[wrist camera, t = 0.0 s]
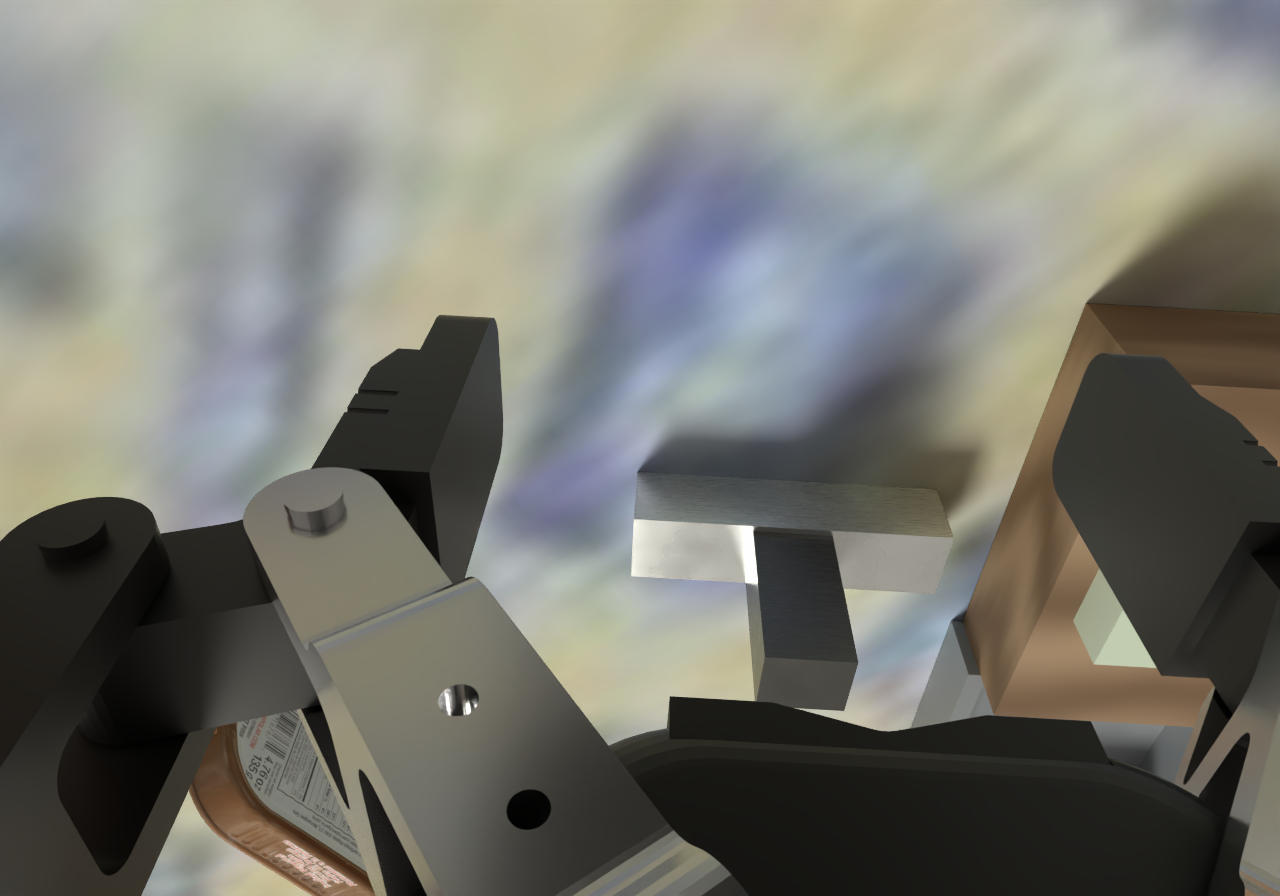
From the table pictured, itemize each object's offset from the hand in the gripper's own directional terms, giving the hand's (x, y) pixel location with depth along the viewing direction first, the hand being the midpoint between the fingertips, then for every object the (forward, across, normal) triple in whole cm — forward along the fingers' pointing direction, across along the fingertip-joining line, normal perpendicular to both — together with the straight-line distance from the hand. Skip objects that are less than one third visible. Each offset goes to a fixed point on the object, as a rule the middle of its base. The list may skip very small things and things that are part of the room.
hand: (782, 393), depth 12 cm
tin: (+19, +16, +32) cm, 40 cm away
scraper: (+18, -4, +16) cm, 24 cm away
